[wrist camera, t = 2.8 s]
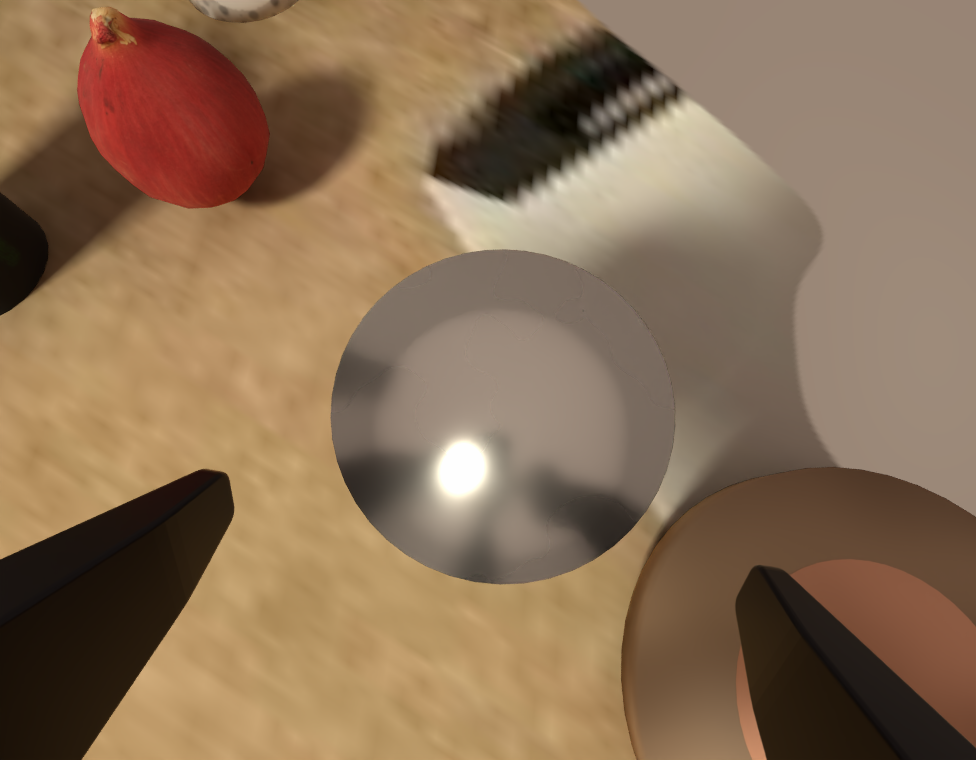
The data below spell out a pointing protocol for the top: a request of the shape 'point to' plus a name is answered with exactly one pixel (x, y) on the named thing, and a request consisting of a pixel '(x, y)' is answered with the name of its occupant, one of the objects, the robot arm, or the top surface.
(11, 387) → the top surface
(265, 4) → the mug
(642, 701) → the turntable
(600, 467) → the canister
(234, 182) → the onion
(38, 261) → the cup
